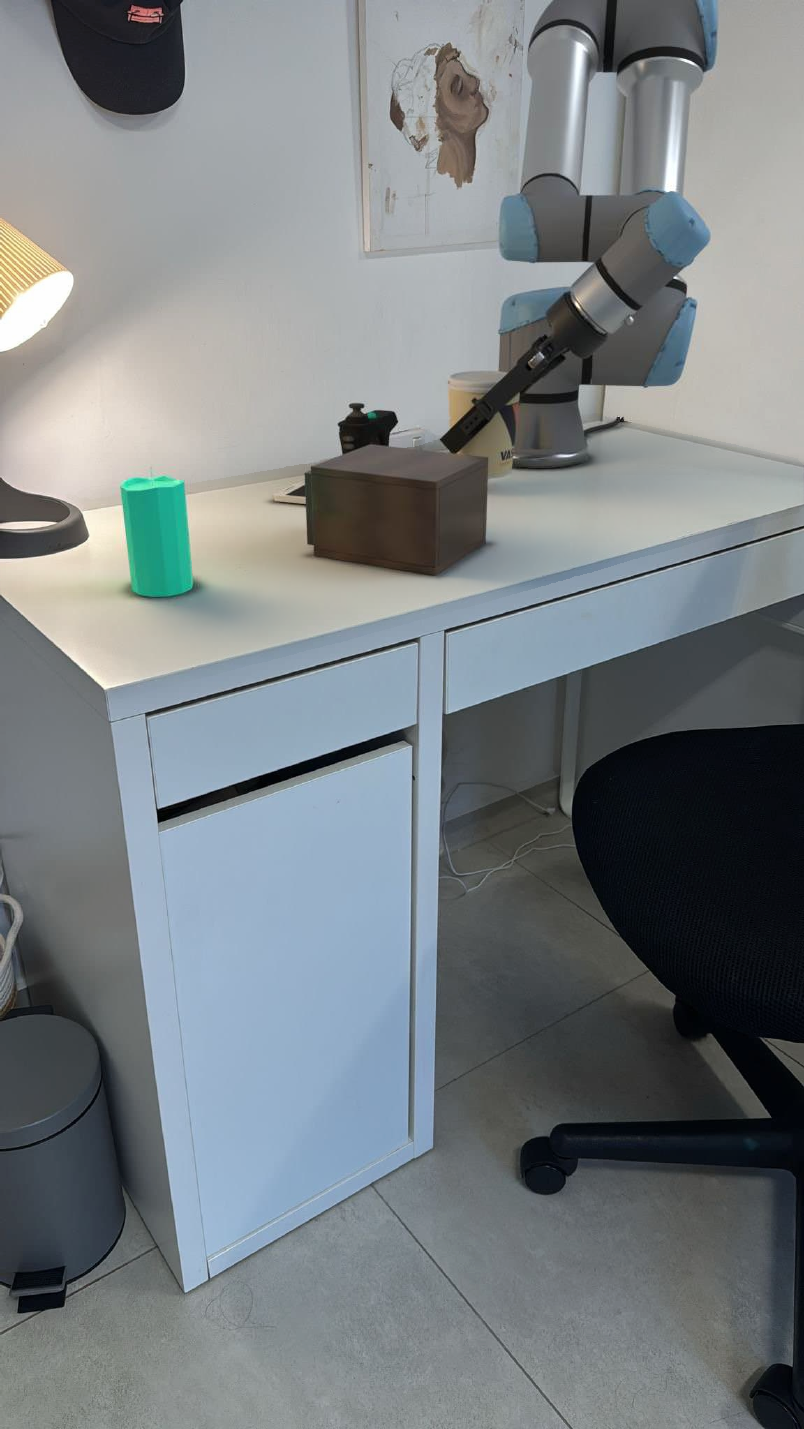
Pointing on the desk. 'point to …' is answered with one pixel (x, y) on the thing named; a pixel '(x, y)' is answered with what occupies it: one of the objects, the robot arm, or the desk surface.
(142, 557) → the candle
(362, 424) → the controller
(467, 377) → the coffee cup
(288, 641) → the desk surface
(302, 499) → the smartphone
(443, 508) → the cabinet
